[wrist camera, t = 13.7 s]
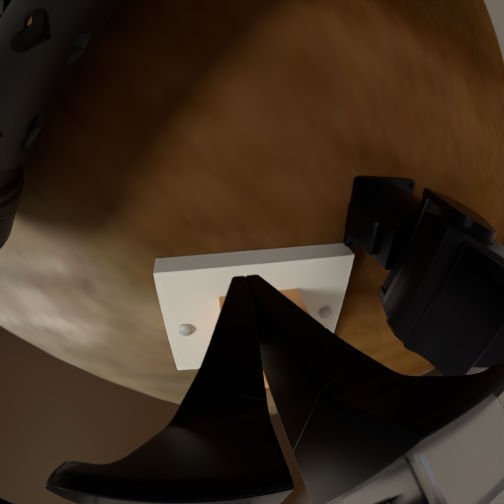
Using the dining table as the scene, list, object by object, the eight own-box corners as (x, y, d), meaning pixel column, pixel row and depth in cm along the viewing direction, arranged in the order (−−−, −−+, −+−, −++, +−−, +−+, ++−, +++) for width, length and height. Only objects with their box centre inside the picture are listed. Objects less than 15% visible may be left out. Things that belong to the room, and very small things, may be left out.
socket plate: (344, 242, 24) (356, 256, 23) (322, 336, 31) (329, 351, 29) (155, 258, 22) (152, 275, 20) (177, 355, 28) (177, 372, 26)
